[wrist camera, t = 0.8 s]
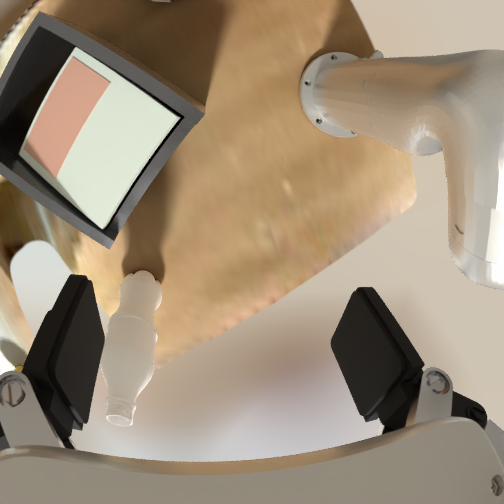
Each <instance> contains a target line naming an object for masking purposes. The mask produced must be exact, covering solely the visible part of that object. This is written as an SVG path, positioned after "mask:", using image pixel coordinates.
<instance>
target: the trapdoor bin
mask: <svg viewBox="0 0 504 504" xmlns="http://www.w3.org/2000/svg"><path fill="white" fill-rule="evenodd" d="M75 47H78V48H81V49H82V50H84V51H86V52H87V53H89V54H91V55H92V56H94V57H96V58H97V59H99V60H101V61H102V62H104V63H105V64H107V65H109V66H110V67H112V68H113V69H115V70H117V71H118V72H120V73H121V74H123V75H124V76H126V77H127V78H129V79H131V80H132V81H134V82H135V83H137V84H138V85H140V86H141V87H143V88H144V89H146V90H147V91H149V92H150V93H151V94H153V95H154V96H156V97H157V98H159V99H160V100H162V101H163V102H165V103H166V104H167V105H169V106H170V107H172V108H173V109H175V110H176V111H177V112H179V113H180V114H182V115H183V116H184V117H185V118H184V119H183V120H182V121H181V123H180V124H179V125H178V126H177V128H176V129H175V130H174V132H173V133H172V134H171V135H170V137H169V138H168V139H167V141H166V142H165V143H164V145H163V146H162V147H161V149H160V150H159V152H158V153H157V154H156V156H155V157H154V158H153V160H152V161H151V163H150V164H149V166H148V167H147V168H146V170H145V171H144V173H143V174H142V176H141V177H140V179H139V180H138V182H137V183H136V185H135V186H134V188H133V189H131V188H129V190H128V192H127V193H126V195H125V196H124V198H123V199H122V201H121V203H120V204H119V206H118V208H117V209H116V211H115V213H114V214H113V216H112V218H111V219H110V221H109V223H108V224H107V226H106V227H105V228H103V229H101V228H100V227H99V226H98V225H96V224H95V223H94V222H93V221H92V220H91V219H89V218H88V217H87V216H86V215H85V214H83V213H82V212H81V211H80V210H79V209H78V208H76V207H75V206H74V205H73V204H72V203H71V202H70V201H68V200H67V199H66V198H65V197H64V196H63V195H62V194H61V193H59V192H58V191H57V190H56V189H55V188H54V187H53V186H52V185H51V184H50V183H48V182H47V181H46V180H45V179H44V178H43V177H42V176H41V175H40V174H39V173H38V172H37V171H36V170H35V169H34V168H32V167H31V166H30V165H29V164H28V163H27V162H26V161H25V160H24V159H23V158H22V157H21V156H20V155H19V152H20V150H21V147H22V145H23V143H24V140H25V138H26V136H27V133H28V131H29V129H30V127H31V124H32V122H33V120H34V118H35V116H36V114H37V112H38V110H39V108H40V106H41V104H42V102H43V100H44V98H45V96H46V94H47V93H48V91H49V89H50V87H51V85H52V84H53V82H54V80H55V79H56V77H57V75H58V74H59V72H60V70H61V69H62V67H63V66H64V64H65V62H66V61H67V59H68V58H69V56H70V55H71V53H72V52H73V50H74V49H75ZM204 115H205V106H204V105H202V104H201V103H200V102H198V101H197V100H195V99H194V98H193V97H191V96H190V95H189V94H187V93H186V92H184V91H183V90H182V89H180V88H179V87H177V86H176V85H174V84H173V83H172V82H170V81H169V80H167V79H166V78H164V77H163V76H161V75H160V74H158V73H157V72H155V71H154V70H152V69H151V68H149V67H148V66H146V65H145V64H143V63H142V62H140V61H139V60H137V59H136V58H134V57H132V56H131V55H129V54H128V53H126V52H124V51H123V50H121V49H119V48H118V47H116V46H115V45H113V44H111V43H110V42H108V41H106V40H104V39H103V38H101V37H99V36H98V35H96V34H94V33H92V32H90V31H89V30H87V29H84V28H82V27H80V26H77V25H75V24H72V23H70V22H67V21H65V20H62V19H59V18H57V17H54V16H51V15H49V14H46V13H43V12H40V11H39V13H38V14H37V16H36V17H35V19H34V20H33V22H32V23H31V25H30V26H29V28H28V29H27V31H26V32H25V34H24V36H23V37H22V39H21V41H20V42H19V44H18V46H17V47H16V49H15V51H14V53H13V54H12V56H11V58H10V60H9V62H8V64H7V66H6V68H5V70H4V72H3V74H2V76H1V78H0V174H1V175H2V176H3V177H5V178H6V179H7V180H8V181H10V182H11V183H12V184H14V185H15V186H16V187H18V188H19V189H21V190H22V191H23V192H25V193H26V194H27V195H29V196H30V197H32V198H33V199H34V200H36V201H37V202H39V203H40V204H41V205H43V206H44V207H46V208H47V209H48V210H50V211H51V212H53V213H54V214H56V215H57V216H59V217H60V218H62V219H63V220H65V221H66V222H68V223H69V224H71V225H72V226H74V227H75V228H77V229H78V230H80V231H81V232H83V233H84V234H86V235H87V236H89V237H90V238H92V239H94V240H95V241H97V242H98V243H100V244H101V245H103V246H105V247H106V248H108V249H110V248H111V246H112V244H113V243H114V241H115V239H116V237H117V235H118V233H119V231H120V230H121V228H122V226H123V225H124V223H125V222H126V220H127V218H128V217H129V215H130V214H131V212H132V211H133V209H134V208H135V206H136V205H137V203H138V201H139V200H140V198H141V197H142V196H143V194H144V193H145V191H146V190H147V188H148V187H149V185H150V184H151V182H152V181H153V180H154V178H155V177H156V175H157V174H158V173H159V171H160V170H161V168H162V167H163V166H164V164H165V163H166V162H167V160H168V159H169V158H170V156H171V155H172V154H173V152H174V151H175V150H176V148H177V147H178V146H179V144H180V143H181V142H182V141H183V139H184V138H185V137H186V135H187V134H188V133H189V132H190V130H191V129H192V128H193V127H194V126H195V125H196V124H197V123H198V122H199V121H200V120H201V118H202V117H203V116H204Z"/></svg>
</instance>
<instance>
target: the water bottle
mask: <svg viewBox="0 0 504 504" xmlns="http://www.w3.org/2000/svg"><path fill="white" fill-rule="evenodd" d="M119 297H120V306H119V308H118V310H117V311H116V312H115V313H114V314H113V315H112V316H111V318H110V320H109V323H108V327H107V330H108V331H107V334H106V338H105V343H104V348H103V352H102V356H101V360H100V367H101V371H102V374H103V377H104V380H105V383H106V385H107V388H108V393H109V397H108V398H107V399H106V403H107V408H108V409H107V414H106V418H107V420H108V421H109V422H111V423H113V424H115V425H118V426H130V425H131V424H132V421H133V414H134V411H135V409H136V404H135V400H136V397H137V396H138V394H139V393H140V392H141V391H142V390H143V389H144V387H145V386H146V385H147V383H148V382H149V381H150V379H151V377H152V375H153V372H154V368H155V364H154V356H155V345H156V341H157V337H158V336H157V332H156V329H155V325H154V313H155V310H156V309H157V308H158V307H159V305H160V303H161V301H162V288H161V285H160V283H159V281H158V280H156V281H155V279H154V276H153V275H152V274H151V273H150V272H148V271H144V270H142V271H138V272H136V273H135V274H134V275H133V273H131V274H128V275H127V276H126V277H125V278H124V279H123V281H122V282H121V285H120V287H119Z"/></svg>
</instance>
